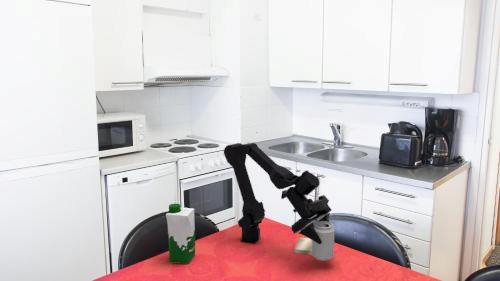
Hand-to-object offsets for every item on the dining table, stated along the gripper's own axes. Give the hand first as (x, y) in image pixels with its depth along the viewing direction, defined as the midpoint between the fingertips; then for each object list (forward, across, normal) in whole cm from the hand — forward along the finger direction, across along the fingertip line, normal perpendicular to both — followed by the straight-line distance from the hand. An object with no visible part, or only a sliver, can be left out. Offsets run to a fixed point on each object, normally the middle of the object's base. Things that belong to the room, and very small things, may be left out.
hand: (326, 239), depth 136 cm
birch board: (-1, +8, +14) cm, 17 cm away
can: (+4, 0, +6) cm, 7 cm away
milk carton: (-23, -27, +37) cm, 52 cm away
